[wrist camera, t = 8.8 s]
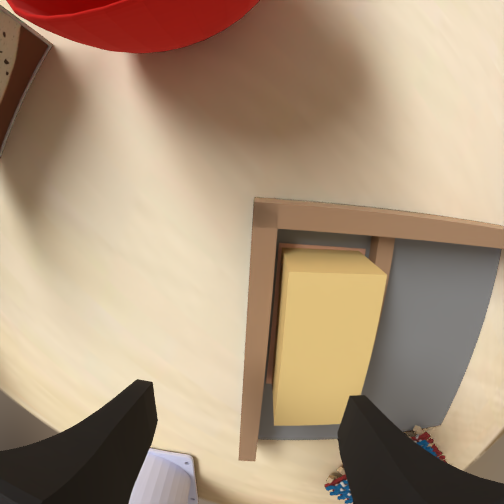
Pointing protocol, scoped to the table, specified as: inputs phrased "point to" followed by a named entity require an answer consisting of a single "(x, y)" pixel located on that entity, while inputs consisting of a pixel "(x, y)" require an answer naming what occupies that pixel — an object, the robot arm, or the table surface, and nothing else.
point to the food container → (17, 66)
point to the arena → (392, 311)
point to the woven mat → (341, 483)
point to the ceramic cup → (133, 21)
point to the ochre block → (323, 333)
